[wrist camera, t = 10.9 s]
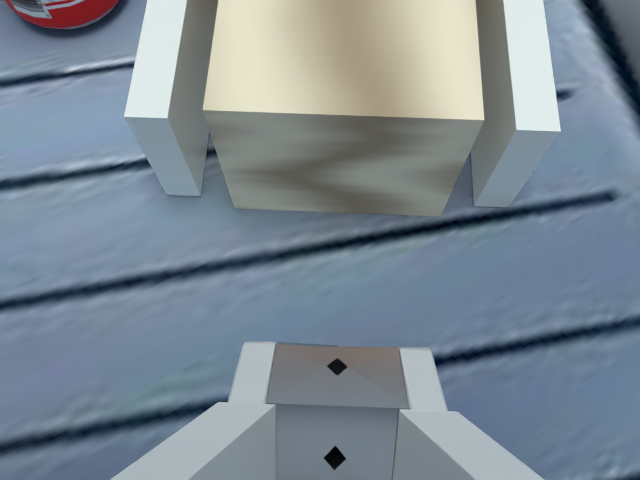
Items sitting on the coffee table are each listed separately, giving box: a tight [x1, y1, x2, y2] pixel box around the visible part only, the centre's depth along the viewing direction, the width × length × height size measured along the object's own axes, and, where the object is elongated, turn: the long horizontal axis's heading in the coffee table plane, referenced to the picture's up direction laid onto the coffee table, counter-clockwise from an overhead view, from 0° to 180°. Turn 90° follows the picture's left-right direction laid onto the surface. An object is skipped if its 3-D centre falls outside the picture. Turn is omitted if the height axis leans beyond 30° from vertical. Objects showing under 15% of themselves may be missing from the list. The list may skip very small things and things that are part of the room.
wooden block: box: [203, 0, 484, 216], centre depth 24 cm, size 9×11×8 cm
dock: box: [124, 0, 561, 207], centre depth 23 cm, size 15×12×10 cm
